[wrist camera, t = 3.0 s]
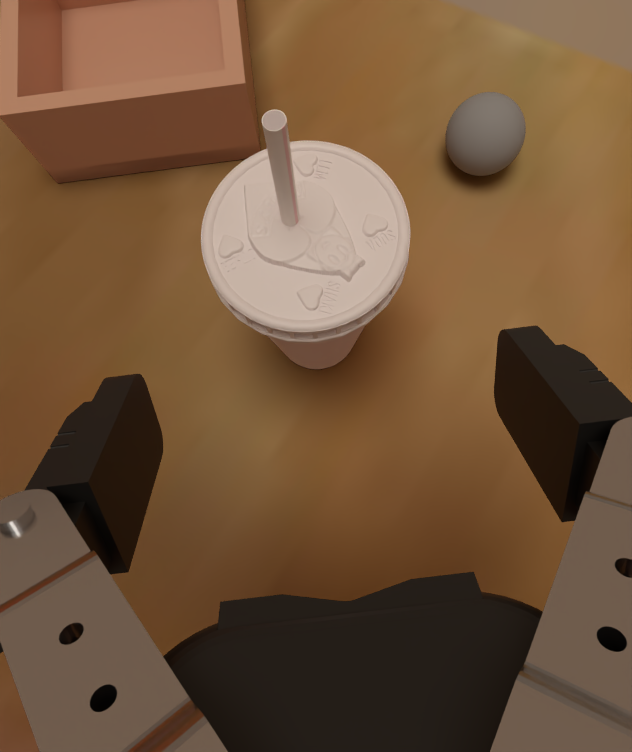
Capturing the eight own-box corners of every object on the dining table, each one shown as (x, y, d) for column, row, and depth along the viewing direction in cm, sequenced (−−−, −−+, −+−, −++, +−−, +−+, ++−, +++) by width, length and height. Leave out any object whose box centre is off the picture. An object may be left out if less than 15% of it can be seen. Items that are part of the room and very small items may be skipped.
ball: (446, 194, 27) (462, 148, 23) (433, 132, 28) (447, 78, 24) (518, 185, 27) (545, 138, 23) (503, 123, 28) (527, 68, 24)
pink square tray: (57, 183, 28) (-2, 115, 23) (56, 16, 30) (2, -77, 25) (261, 156, 28) (245, 82, 23) (243, -9, 30) (225, -107, 25)
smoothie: (308, 243, 27) (278, -31, 13) (413, 322, 25) (500, 112, 12) (221, 340, 26) (88, 155, 12) (325, 426, 24) (310, 330, 11)
